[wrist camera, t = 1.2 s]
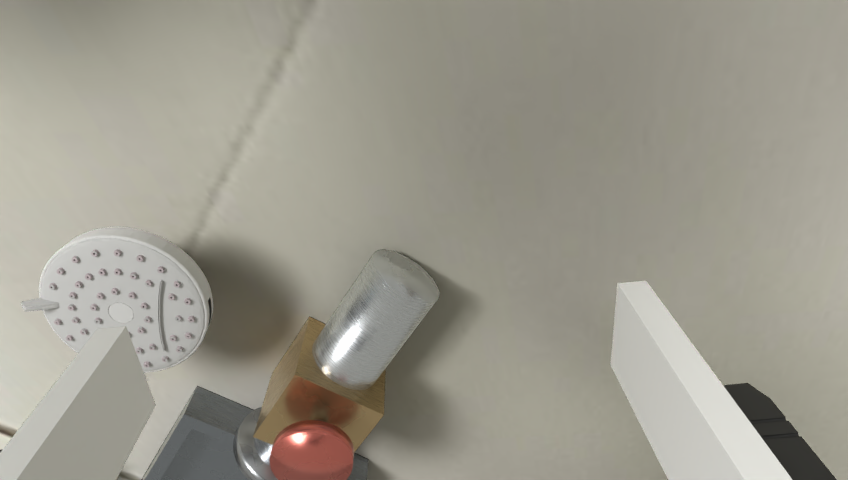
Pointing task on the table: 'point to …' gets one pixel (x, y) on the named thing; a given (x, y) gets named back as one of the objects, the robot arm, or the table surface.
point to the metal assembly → (308, 391)
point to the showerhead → (127, 294)
